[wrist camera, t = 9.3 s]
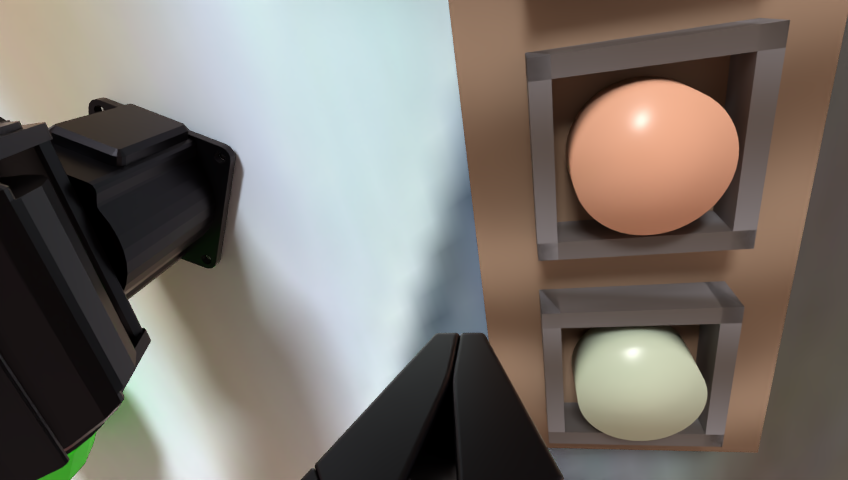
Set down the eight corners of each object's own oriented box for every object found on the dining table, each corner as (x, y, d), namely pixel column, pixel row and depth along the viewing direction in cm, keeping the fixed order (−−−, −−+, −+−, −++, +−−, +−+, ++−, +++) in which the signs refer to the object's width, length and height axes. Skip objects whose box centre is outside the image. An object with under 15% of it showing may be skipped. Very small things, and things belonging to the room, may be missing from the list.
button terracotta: (704, 204, 14) (729, 229, 13) (567, 214, 15) (573, 240, 14) (719, 65, 13) (749, 74, 11) (563, 85, 13) (570, 97, 12)
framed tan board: (718, 380, 22) (776, 486, 17) (502, 381, 24) (500, 476, 19) (837, -463, 11) (1089, -818, 6) (425, -329, 13) (377, -517, 8)
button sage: (683, 402, 18) (701, 442, 16) (572, 402, 19) (578, 439, 17) (693, 313, 16) (713, 348, 14) (570, 317, 17) (576, 350, 15)
